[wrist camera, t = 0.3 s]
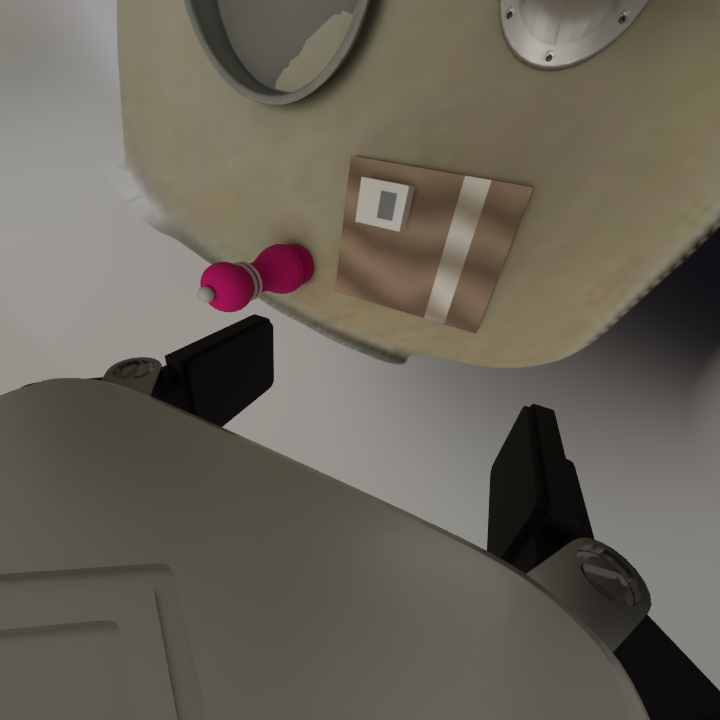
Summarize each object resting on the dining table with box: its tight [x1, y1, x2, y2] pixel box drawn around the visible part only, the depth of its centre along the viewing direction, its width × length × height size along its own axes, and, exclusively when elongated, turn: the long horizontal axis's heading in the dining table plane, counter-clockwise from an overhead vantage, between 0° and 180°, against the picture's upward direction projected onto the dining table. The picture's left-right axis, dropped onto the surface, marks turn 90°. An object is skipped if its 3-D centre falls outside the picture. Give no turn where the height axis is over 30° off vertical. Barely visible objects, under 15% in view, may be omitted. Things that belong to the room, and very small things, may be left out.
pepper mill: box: [197, 244, 314, 312], centre depth 43 cm, size 7×7×20 cm
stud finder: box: [355, 177, 415, 232], centre depth 39 cm, size 5×6×3 cm
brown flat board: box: [335, 156, 534, 333], centre depth 42 cm, size 18×22×2 cm
